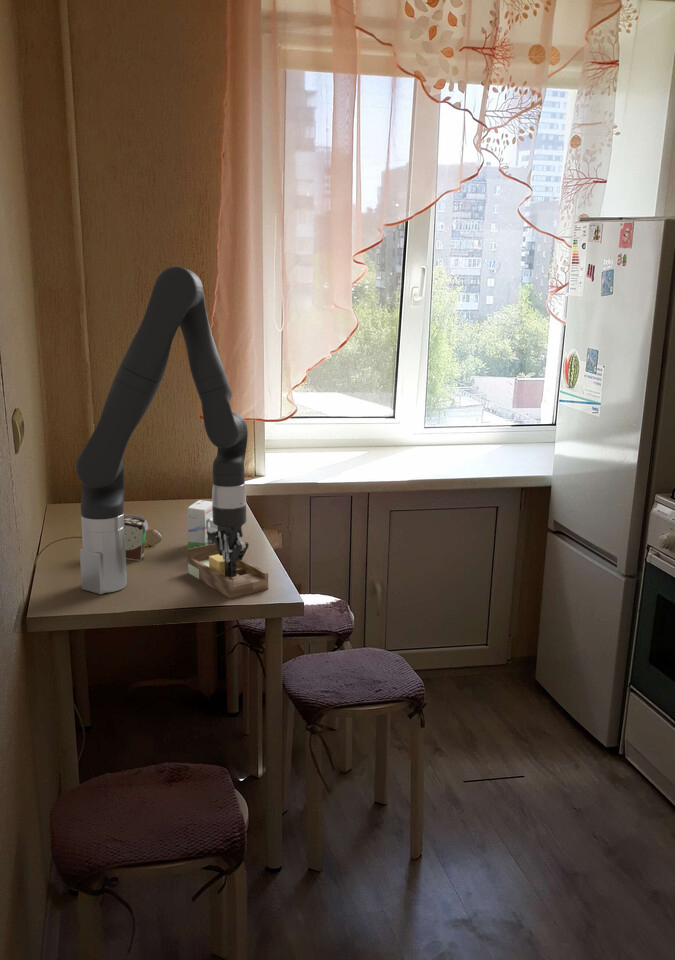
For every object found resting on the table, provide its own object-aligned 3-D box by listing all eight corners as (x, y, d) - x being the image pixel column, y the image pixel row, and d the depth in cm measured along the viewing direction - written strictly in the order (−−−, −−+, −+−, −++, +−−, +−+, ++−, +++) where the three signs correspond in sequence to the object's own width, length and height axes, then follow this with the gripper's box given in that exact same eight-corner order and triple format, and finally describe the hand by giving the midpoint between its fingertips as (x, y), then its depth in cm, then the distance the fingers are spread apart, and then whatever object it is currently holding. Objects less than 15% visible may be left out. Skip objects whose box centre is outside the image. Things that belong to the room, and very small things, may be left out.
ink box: (198, 541, 223) (197, 499, 220) (217, 543, 222) (216, 500, 219) (186, 551, 215) (185, 507, 212) (205, 553, 214) (205, 509, 211)
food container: (158, 554, 212) (156, 516, 210) (146, 561, 207) (145, 523, 204) (115, 549, 216) (113, 512, 213) (102, 556, 210) (100, 518, 208)
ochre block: (234, 573, 192) (234, 559, 192) (219, 576, 190) (219, 562, 189) (224, 567, 196) (224, 553, 196) (209, 570, 194) (208, 556, 193)
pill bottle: (205, 553, 213) (204, 516, 211) (227, 551, 215) (227, 514, 213) (210, 560, 208) (209, 522, 206) (232, 558, 210) (232, 520, 208)
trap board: (268, 589, 190) (268, 564, 189) (230, 598, 184) (229, 572, 183) (224, 564, 205) (224, 541, 204) (188, 572, 199) (187, 548, 198)
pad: (233, 571, 201) (232, 562, 200) (199, 579, 195) (198, 569, 195) (221, 565, 205) (221, 555, 204) (188, 572, 199) (187, 562, 199)
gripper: (259, 506, 182) (260, 581, 186) (229, 494, 192) (230, 565, 197) (229, 512, 178) (230, 588, 182) (200, 499, 188) (202, 571, 192)
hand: (230, 576), depth 189 cm, fingers closed
